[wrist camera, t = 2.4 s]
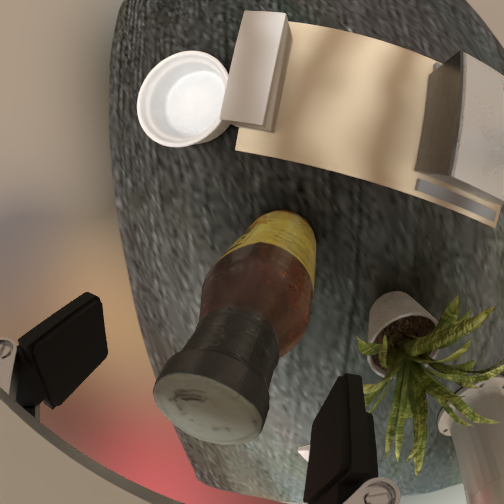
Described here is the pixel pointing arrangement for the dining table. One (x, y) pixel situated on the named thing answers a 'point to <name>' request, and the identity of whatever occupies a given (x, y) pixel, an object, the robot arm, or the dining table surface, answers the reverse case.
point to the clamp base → (336, 106)
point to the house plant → (419, 364)
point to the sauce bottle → (242, 332)
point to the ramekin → (183, 100)
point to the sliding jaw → (465, 128)
